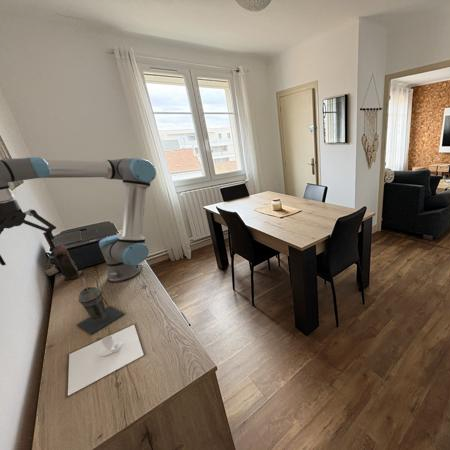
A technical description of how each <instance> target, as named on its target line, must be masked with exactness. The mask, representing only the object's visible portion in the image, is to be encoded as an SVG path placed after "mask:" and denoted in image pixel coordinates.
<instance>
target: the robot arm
mask: <svg viewBox="0 0 450 450" xmlns="http://www.w3.org/2000/svg"><path fill="white" fill-rule="evenodd" d="M156 176H157V170H156V167H155V166H154V164H153V163H152V162H151V161H149V160H148V159H146V158H142V157H141V158H140V157H134V158H130V157H129V158H128V157H125V158H116V159H103V160H101V161H95V160H94V161H93V160H67V159H65V160H64V159H44V158H43V157H42V156H41V157H40V156H29V157H20V158H19V157H17V158H16V157H15V158H11V157H4V158H1V159H0V235H1V234H2V232H3V231H4V230H5V229H12V228H14V227H20V226H21V225H23V224H24V225H27V226H29V227H32V228H35V229H38V230H40V231H43V233H42V234H43V236H44V238H45V241H46V242H47V245H48V246H49V248H50V249H53V250H54V248H55V247H56V246H55V243H54V242H53V240H55V236H54V234H53V231H54V230H56V229H57V226H55V225H54V224H52V223H51V222H50V221H48V220H47V219H45V218H44V217H42V216H41V215H39V214H38V212H37V211H36V210H35V209H32V208H30V209H28V210H26V211H23V210H22V208H21V206H20V204H19V202H18V201H17V200H16V196H15V194H14V193H13V191H12V189H11V188H10V185H9V183H13V182H21V181H28V180H34V179H58V178H61V179H63V178H66V179H68V178H69V179H70V178H104V179H106V180H119V181H122V184H123V185H124V187H125V193H124V194H125V195H124V206H123V218H122V229H121V233H119V234H114V235H111V236H107V237H105V238H102V239H100V240H99V241H98V245H99V249H100V252H101V254H102V256H103V258H104V261H105V263H106V265H107V279H108V281H109V282H111V283H118V282H124V281H126V280H130V279H132V278H134V277H136V276H137V275H139V273H140V272H141V271H142V268H141V267H142V266H143V265H142V263H143V262H144V261H145V260H146V259H147V258H148V256H149V252H150V251H149V247H148V246H147V245H146V238H145V236H143V229H144V218H145V206H146V198H147V197H146V196H147V190H148V189H150V187H151V183H152V182H153V181H154V180H155V179H156ZM27 215H28V216H30V217H33V218H34V219H36V220H38V222H40V223H42V224H43V225H45V226H46V227H45V226H42V225H40V224H37V223H35V222H34V223H33V222H32V221H29V220H26V217H27ZM0 265H2V266H7V264H6V262H5V260H4V259H3V256H2V255H1V254H0Z"/></svg>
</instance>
